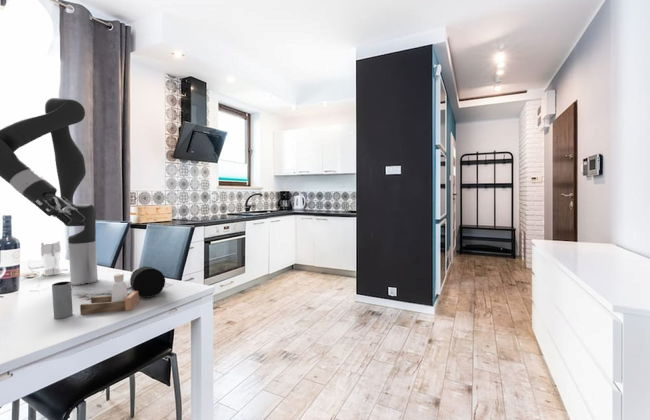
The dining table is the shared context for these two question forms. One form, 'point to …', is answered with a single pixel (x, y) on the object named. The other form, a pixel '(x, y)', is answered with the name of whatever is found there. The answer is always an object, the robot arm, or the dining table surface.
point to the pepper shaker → (119, 288)
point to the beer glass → (51, 257)
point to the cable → (147, 281)
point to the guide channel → (109, 304)
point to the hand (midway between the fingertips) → (76, 221)
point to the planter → (62, 299)
